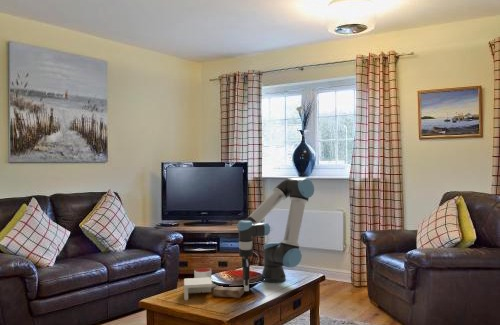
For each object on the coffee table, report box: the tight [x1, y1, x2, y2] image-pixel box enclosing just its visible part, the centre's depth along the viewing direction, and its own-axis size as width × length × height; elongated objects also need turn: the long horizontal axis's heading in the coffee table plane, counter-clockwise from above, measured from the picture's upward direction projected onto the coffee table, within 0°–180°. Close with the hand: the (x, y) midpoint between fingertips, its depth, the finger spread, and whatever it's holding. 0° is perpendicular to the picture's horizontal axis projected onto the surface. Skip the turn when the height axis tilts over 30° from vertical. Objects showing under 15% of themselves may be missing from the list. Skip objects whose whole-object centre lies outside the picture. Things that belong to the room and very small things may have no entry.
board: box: [212, 285, 245, 299], centre depth 258 cm, size 15×9×4 cm, turn 75°
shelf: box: [183, 276, 213, 301], centre depth 256 cm, size 15×14×8 cm
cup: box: [193, 267, 212, 278], centre depth 274 cm, size 10×10×10 cm
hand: (246, 290), depth 259 cm, fingers closed
